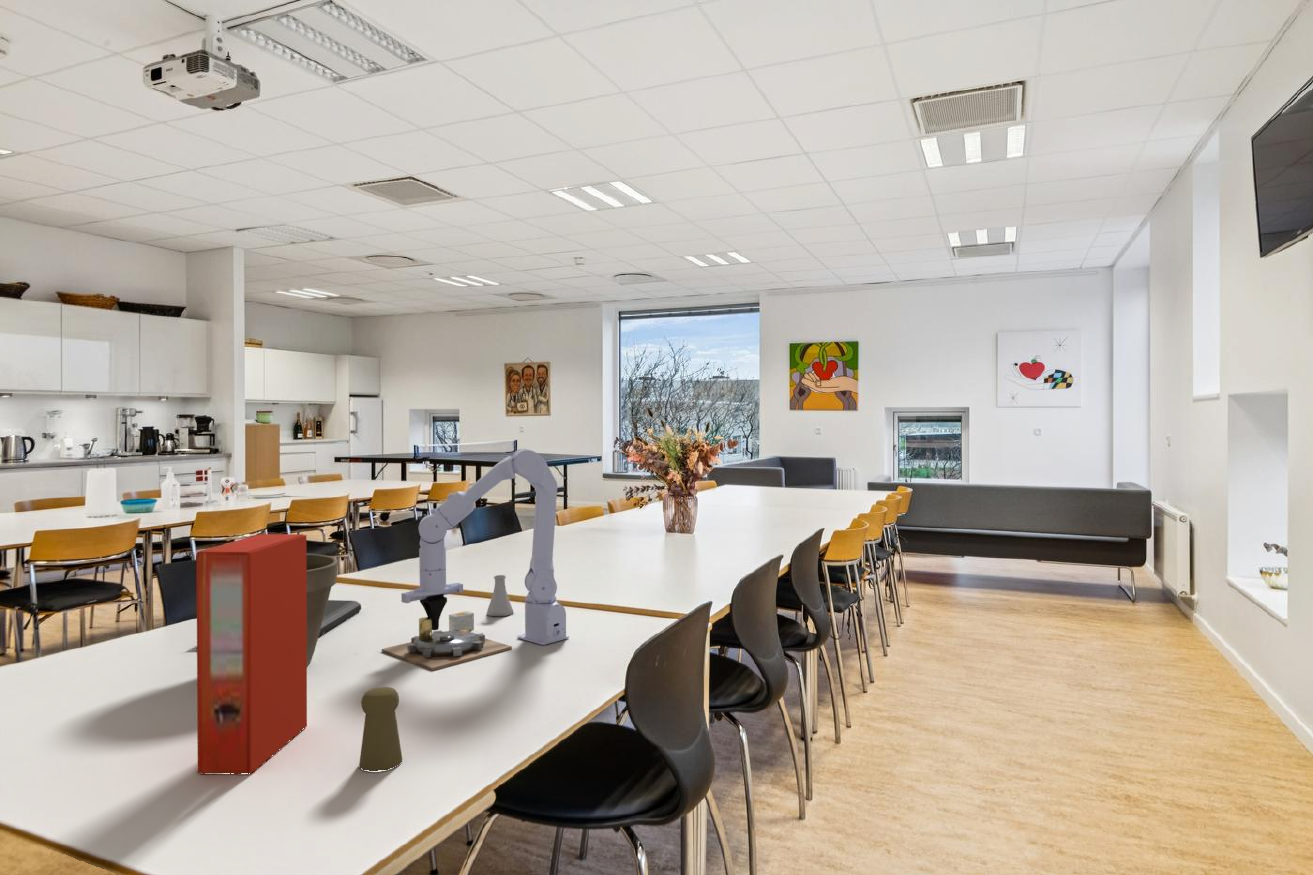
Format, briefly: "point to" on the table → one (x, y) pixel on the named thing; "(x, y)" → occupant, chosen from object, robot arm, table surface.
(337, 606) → the closed laptop
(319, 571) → the plant pot
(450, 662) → the board
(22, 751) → the table surface
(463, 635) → the sprocket
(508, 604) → the flask
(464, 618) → the grey rectangular block
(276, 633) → the file binder
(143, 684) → the table surface
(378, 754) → the olive pawn
